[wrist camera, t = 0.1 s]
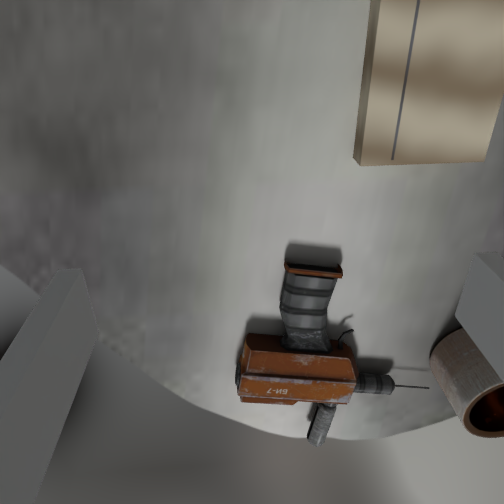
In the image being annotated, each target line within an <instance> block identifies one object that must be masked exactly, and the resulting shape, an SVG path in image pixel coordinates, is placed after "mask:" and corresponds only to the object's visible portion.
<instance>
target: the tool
mask: <svg viewBox="0 0 504 504" xmlns="http://www.w3.org/2000/svg"><path fill="white" fill-rule="evenodd" d="M285 259H286V258H285ZM284 267H285V269H286V275H285V280H284V285H283V291H282V296H281V301H280V306H279V308H280V313H281V316H282V319H283V322H284V325H285V328H286V331H287V332H286V333H285V335H284V336H278V335H267V334H255V333H249V334H248V335H247V336H246V338H245V343H244V349H243V354H241V355H240V359H239V364H238V365H237V367H236V374H235V384H236V385H237V393H238V396H240V398H241V402H247V403H263V404H280V405H294V404H295V403H296V402H298V401H302V402H317V406H316V409H315V412H314V415H313V418H312V421H311V424H310V427H309V430H308V433H307V439H308V441H309V443H310V444H311V445H313V446H316V447H317V446H321V445H322V444H323V443H324V441H325V438H326V436H327V433H328V430H329V428H330V425H331V422H332V419H333V417H334V414H335V411H336V406H337V405H338V404H347V403H349V401H350V399H351V396H352V393H353V392H357V393H372V394H387V395H390V394H391V393H392V391H393V390H394V388H395V386H396V387H410V388H424V389H429V387H417V386H403V385H395V382H394V381H393V379H392V378H391V376H389V375H382V374H368V373H359V372H358V368H357V365H356V361H355V358H354V355H353V352H352V350H351V348H350V347H349V346H348V345H347V344H345V343H344V342H343V340H344V338H345V336H346V334H348V333H351V332H353V331H354V330H353V329H351V330H348V331H346V332H343V334H342V335H341V336H340V338H339V339H338V340H329V338H328V336H327V333H326V331H325V330H326V317H327V307H328V304H329V301H330V299H331V296H332V293H333V290H334V287H335V285H336V282H337V279H338V278H342V276H343V271H342V268H341V266H340V265H339V264H338V268H331V267H322V266H313V265H304V264H295V263H286V262H284Z"/></svg>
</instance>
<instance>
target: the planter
mask: <svg viewBox="0 0 504 504" xmlns="http://www.w3.org/2000/svg"><path fill="white" fill-rule="evenodd" d="M430 367H431V370H432V373H433V374H434V376H435V378H436V380H437V381H438V383H439V385H440V387H441V388H442V390H443V392H444V393H445V395H446V397H447V398H448V400H449V402H450V403H451V405H452V407H453V409H454V410H455V412H456V414H457V416H458V417H459V419H460V421H461V423H462V424H463V426H464V428H465V429H466V430H467V431H468V432H470V433H471V434H473V435H476V436H479V437H485V438H497V437H504V382H503V381H502V380H501V378H500V377H499V375H498V374H497V373H496V371H495V370H494V369H493V367H492V366H491V365H490V363H489V362H488V361H487V359H486V358H485V356H484V355H483V354H482V352H481V351H480V350H479V348H478V347H477V346H476V344H475V343H474V341H473V340H472V339H471V337H470V336H469V335H468V333H467V332H466V331H465V329H464V328H460V329H457V330H455V331H453V332H452V333H450V334H448V335H447V336H446V337H444V338H443V339H442V340H441V341H440V342H439V343H438V344H437V345H436V347H435V348H434V350H433V351H432V354H431V356H430Z"/></svg>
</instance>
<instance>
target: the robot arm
mask: <svg viewBox="0 0 504 504" xmlns="http://www.w3.org/2000/svg"><path fill="white" fill-rule="evenodd" d="M455 317H456V318H457V320H458V321H459V322H460V324H461V325H462V326H463V328H464V329H465V331H466V332H467V333H468V335H469V336H470V337H471V339H472V340H473V341H474V343H475V344H476V346H477V347H478V348H479V350H480V351H481V352H482V354H483V355H484V356H485V358H486V359H487V361H488V362H489V363H490V365H491V366H492V367H493V369H494V370H495V371H496V373H497V374H498V375H499V377H500V378H501V380H502V381H503V382H504V258H502V257H501V256H500V255H499V254H498V253H497V252H484V253H474V256H473V259H472V262H471V265H470V269H469V272H468V275H467V278H466V281H465V284H464V288H463V291H462V294H461V297H460V300H459V303H458V306H457V310H456V313H455ZM98 334H99V330H98V326H97V323H96V319H95V315H94V312H93V308H92V304H91V300H90V297H89V293H88V289H87V286H86V282H85V278H84V275H83V271H82V269H58V270H57V272H56V273H55V275H54V276H53V278H52V280H51V281H50V283H49V284H48V286H47V288H46V289H45V291H44V292H43V294H42V296H41V297H40V299H39V300H38V302H37V304H36V305H35V307H34V308H33V310H32V312H31V313H30V315H29V317H28V318H27V320H26V321H25V323H24V324H23V326H22V328H21V329H20V331H19V332H18V334H17V336H16V337H15V339H14V340H13V342H12V343H11V345H10V347H9V348H8V350H7V352H6V353H5V355H4V356H3V358H2V360H1V361H0V504H34V501H35V499H36V496H37V493H38V491H39V488H40V486H41V483H42V480H43V478H44V475H45V473H46V470H47V467H48V465H49V462H50V460H51V457H52V454H53V452H54V449H55V446H56V444H57V441H58V438H59V436H60V433H61V431H62V428H63V425H64V423H65V420H66V418H67V415H68V412H69V410H70V407H71V405H72V402H73V399H74V397H75V394H76V391H77V389H78V386H79V384H80V381H81V378H82V376H83V373H84V370H85V368H86V365H87V363H88V360H89V357H90V355H91V352H92V349H93V347H94V344H95V342H96V339H97V336H98Z"/></svg>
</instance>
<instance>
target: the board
mask: <svg viewBox="0 0 504 504" xmlns="http://www.w3.org/2000/svg"><path fill="white" fill-rule="evenodd" d="M503 94H504V0H371V5H370V14H369V22H368V31H367V40H366V49H365V58H364V66H363V75H362V84H361V93H360V101H359V110H358V119H357V128H356V137H355V145H354V154H353V158H354V159H355V161H356V162H357V163H358V164H359V165H360V166H380V165H407V164H435V163H462V162H484V160H485V156H486V153H487V149H488V146H489V142H490V139H491V135H492V132H493V128H494V125H495V121H496V118H497V114H498V111H499V107H500V104H501V100H502V97H503Z"/></svg>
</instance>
